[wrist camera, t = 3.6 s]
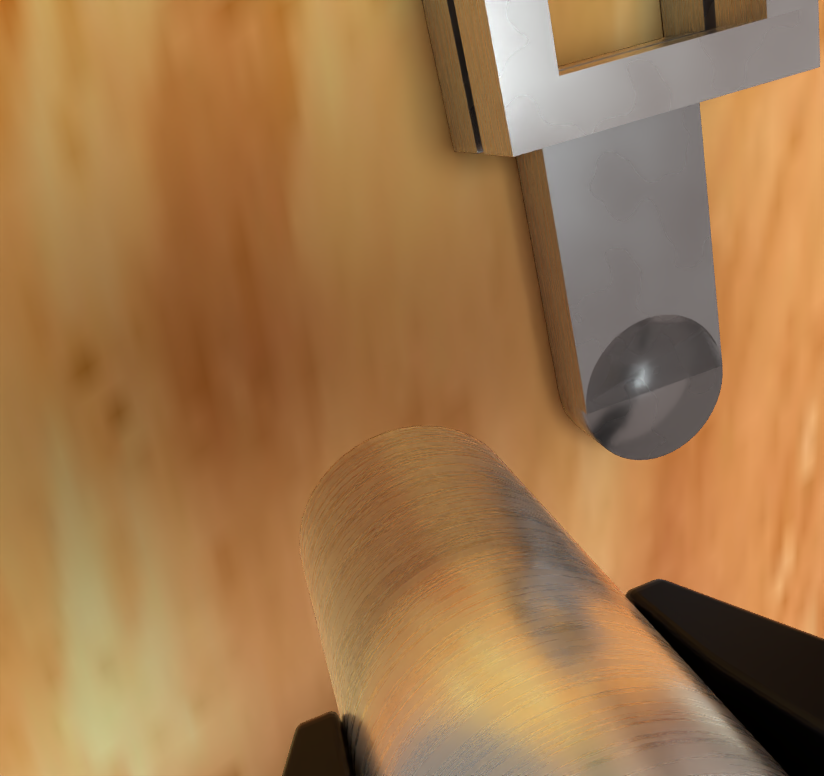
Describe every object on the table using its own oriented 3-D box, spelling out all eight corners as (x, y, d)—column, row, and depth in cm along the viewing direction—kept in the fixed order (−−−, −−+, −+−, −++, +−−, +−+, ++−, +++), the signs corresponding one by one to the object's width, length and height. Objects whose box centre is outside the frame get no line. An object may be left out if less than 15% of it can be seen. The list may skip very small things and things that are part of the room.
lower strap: (736, 394, 22) (774, 413, 21) (522, 473, 21) (547, 499, 20) (683, -264, 16) (732, -302, 15) (379, -202, 15) (398, -237, 14)
